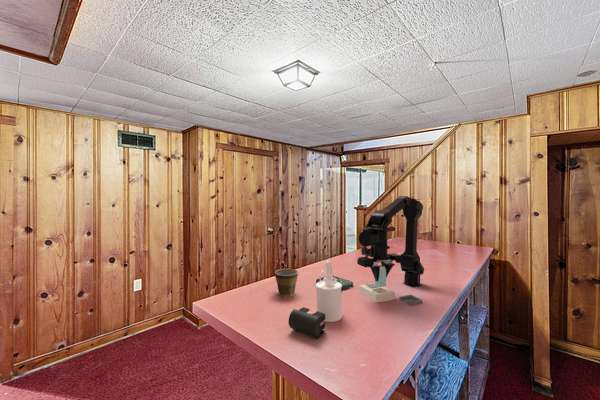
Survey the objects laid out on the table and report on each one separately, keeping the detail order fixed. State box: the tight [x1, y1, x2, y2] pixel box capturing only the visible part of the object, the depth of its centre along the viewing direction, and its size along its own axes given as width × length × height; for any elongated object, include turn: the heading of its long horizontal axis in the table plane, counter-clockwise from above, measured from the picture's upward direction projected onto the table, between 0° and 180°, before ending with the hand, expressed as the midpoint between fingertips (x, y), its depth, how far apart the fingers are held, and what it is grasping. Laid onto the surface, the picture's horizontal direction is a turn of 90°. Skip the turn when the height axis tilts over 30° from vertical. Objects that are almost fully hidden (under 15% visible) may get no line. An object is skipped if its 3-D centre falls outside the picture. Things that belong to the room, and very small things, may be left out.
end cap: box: [288, 306, 327, 339], centre depth 86 cm, size 10×7×7 cm
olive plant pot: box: [273, 268, 299, 298], centre depth 119 cm, size 13×10×10 cm
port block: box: [358, 282, 396, 304], centre depth 115 cm, size 9×12×4 cm
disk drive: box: [315, 275, 354, 292], centre depth 130 cm, size 10×3×15 cm
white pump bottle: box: [315, 260, 343, 323], centre depth 98 cm, size 10×9×20 cm
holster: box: [398, 294, 423, 306], centre depth 109 cm, size 6×6×2 cm
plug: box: [374, 264, 387, 287], centre depth 112 cm, size 3×3×8 cm
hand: (380, 280), depth 112 cm, fingers closed on plug, 3 cm apart
